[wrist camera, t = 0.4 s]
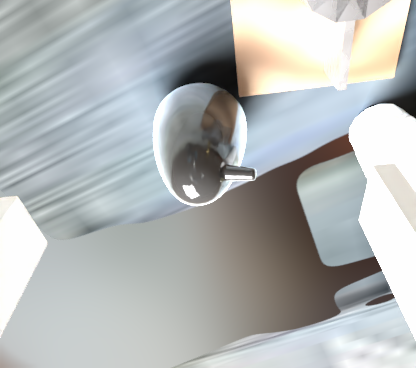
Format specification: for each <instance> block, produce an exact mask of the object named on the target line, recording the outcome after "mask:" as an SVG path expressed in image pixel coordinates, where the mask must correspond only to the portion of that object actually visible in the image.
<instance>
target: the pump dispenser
mask: <svg viewBox="0 0 416 368" xmlns="http://www.w3.org/2000/svg"><path fill="white" fill-rule="evenodd" d="M246 137H247V124H246V118H245V114H244V111H243V109H242V107H241V105H240V104H239V102H238V101H237V100H236V98H235V97H234V96H233V95H231V94H230V93H229V92H227V91H226V90H224V89H222V88H220V87H218V86H215V85H212V84H208V83H193V84H188V85H184V86H181V87H179V88H177V89H175V90H173V91H172V92H171V93H169V94H168V95H167V96H166V97H165V98H164V99H163V101H162V102H161V103H160V105H159V107H158V109H157V112H156V115H155V119H154V126H153V147H154V154H155V159H156V163H157V166H158V169H159V172H160V174H161V176H162V178H163V181H164V182H165V184H166V186H167V187H168V189H169V190H170V192H171V193H172V194H173V195H174V196H175V197H176V198H177V199H179V200H180V201H182V202H184V203H186V204H189V205H194V206H201V205H206V204H209V203H211V202H213V201H215V200H216V199H218V198H219V197H220V196H221V195H222V194H223V193H224V192H225V191H226V190H227V189H228V187H229V186H230V184H231V183H232V181H253V180H255V179H256V177H257V171H256V170H255V169H254V168H249V167H241V166H240V164H241V162H242V159H243V155H244V151H245V146H246Z"/></svg>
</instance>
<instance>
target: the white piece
mask: <svg viewBox="0 0 416 368" xmlns="http://www.w3.org/2000/svg"><path fill="white" fill-rule="evenodd" d="M301 1H302V2H303V3H304V4H305V5H306V6H307V7H308V8H309V9H310V10H311V11H312V12H314V13H316V14H318V15H321V16H323V17H325V18H327V19H328V27H327V40H326V52H325V65H324V72H325V73H326V75H327V76H328V78H329V79H330V80H331V82H332V83H333V85H334V86H335V87H336V89H337V90H346V89H347V82H348V74H349V67H350V59H351V51H352V43H353V35H354V27H355V20H360V19H366V18H367V17H368V16H370V15H371V14H373V13H374V12H376V11H377V10H379V9H380V8H381V7H383V6H384V5H386V4H387V3H389V2H390V1H392V0H301Z"/></svg>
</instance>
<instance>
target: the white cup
mask: <svg viewBox="0 0 416 368" xmlns="http://www.w3.org/2000/svg"><path fill="white" fill-rule="evenodd" d="M349 140H350V142H351V144H352V145H353V147H354V150H355V152H356V156H357V158H358V160H359V163H360V164H361V167H362V169H363V171H364V173H365V175H366V177H367V179H368V180H369V176H370V171H371V167H372V165H378V164H389V163H395V164H396V165H397V167H398V168H399V169H400V171H401V172H402V173H403V175H404V176H405V178H406V179H407V180H408V182H409V183H410V184H411V186H412V187H413V188H414V190H415V191H416V119H415V118H414V117H412V116H411V115H409V114H408V113H407V112H405V111H404V110H403V109H401V108H400V107H398V106H396V105H394V104H378V105H375V106H372V107H370V108H367V109H366V110H364V111H363V112H362V113H361V114H359V115H358V116H357V117H356V118H355V120H354V122H353V123H352V125H351V127H350V131H349Z"/></svg>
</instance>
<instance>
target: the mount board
mask: <svg viewBox="0 0 416 368" xmlns="http://www.w3.org/2000/svg"><path fill="white" fill-rule="evenodd" d="M230 1H231V13H232V24H233V36H234V47H235V58H236V70H237V81H238V92H239V97H244V96H252V95H260V94H268V93H276V92H284V91H292V90H300V89H308V88H316V87H324V86H332V85H333V83H332V82H331V80H330V79H329V78H328V76H327V75H326V73H325V72H324V65H325V52H326V40H327V27H328V19H327V18H325V17H323V16H321V15H318V14H316V13H314V12H312V11H311V10H310V9H309V8H308V7H307V6H306V5H305V4H304V3H303V2H302V1H301V0H230ZM410 1H411V0H392V1H390V2H389V3H387V4H386V5H384V6H383V7H381V8H380V9H379V10H377V11H376V12H374V13H373V14H371V15H370V16H368V17H367V18H366V19H360V20H355V27H354V35H353V43H352V51H351V59H350V67H349V74H348V82H347V84H348V83H355V82H363V81H371V80H379V79H387V78H394V75H395V70H396V66H397V61H398V56H399V52H400V47H401V43H402V38H403V33H404V29H405V24H406V20H407V15H408V10H409V6H410Z"/></svg>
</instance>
